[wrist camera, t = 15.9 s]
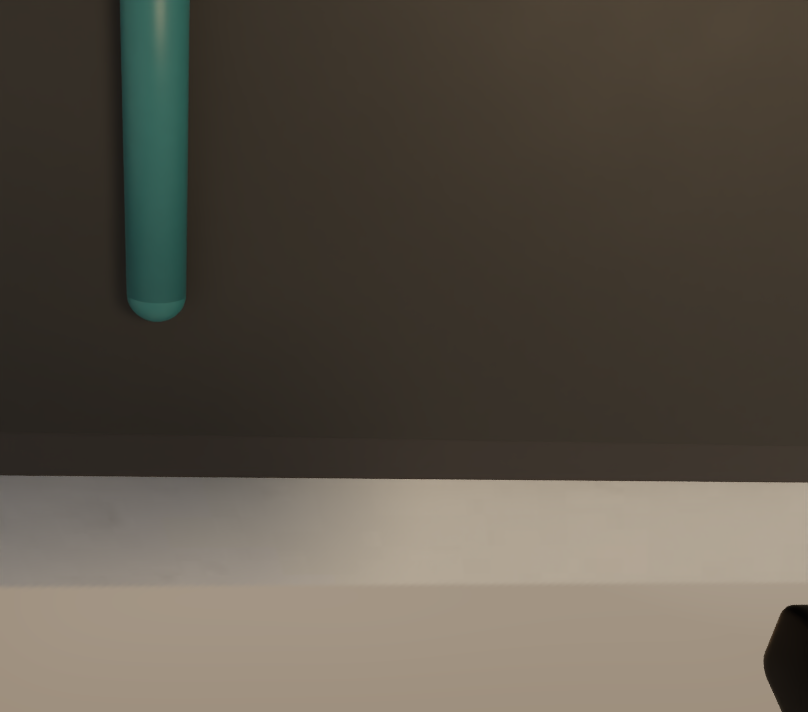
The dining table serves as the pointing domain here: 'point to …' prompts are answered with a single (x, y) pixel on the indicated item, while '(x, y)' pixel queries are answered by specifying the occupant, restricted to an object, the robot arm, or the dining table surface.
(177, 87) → the stylus
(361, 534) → the dining table surface
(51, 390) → the tablet
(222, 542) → the dining table surface
